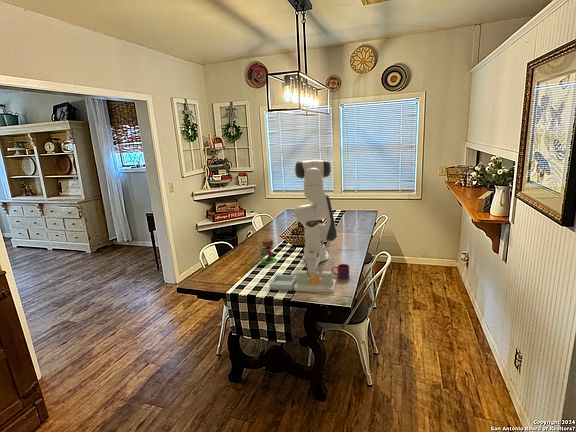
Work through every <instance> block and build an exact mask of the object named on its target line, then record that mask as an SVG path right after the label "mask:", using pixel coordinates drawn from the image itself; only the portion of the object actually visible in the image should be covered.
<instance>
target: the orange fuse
mask: <svg viewBox="0 0 576 432" xmlns="http://www.w3.org/2000/svg"><path fill="white" fill-rule="evenodd" d="M320 274H321V273H320V270H318V271H315V278H312V275H311V273H309V277H310V284H312V285H319V284H320V278H321V276H320Z"/></svg>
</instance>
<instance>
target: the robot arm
mask: <svg viewBox="0 0 576 432" xmlns="http://www.w3.org/2000/svg"><path fill="white" fill-rule="evenodd" d="M331 172H332V164H331V162H330V161H329V160H326V159H323V160H322V159H312V160H311V159H308V160H300V161H297V162H296V163H295V166H294V173H295V177H297V178H298V179H301V180H304V181H303V195H304V197H305V198H306V200H307V201H308V202H311V203H309V204H308V203H307V204H301V205H297V206H296V207H294V210H293V216H294V219H296V221H298V222H299V223H300V224H301V225H302V226H303V238H304V240H305V245H304V247H303V256H301V257H302V258H301V259H302V260H305V261H306V268H307V269H306V270H307V273H308V274H310V273H311V275H312V278H315V271H319V263H321V262H325V261H328V260H330V255H329V252H328V250H327V249H326V245H325V244H324V241H327V242H333V241H334V240H335V239H336V238H338V228H337V226H336V223H335V222H336V221H335V218H334V212H333V208H332V203H331V200H330V196H329V195H327V194H326V192H325V190H324V182H323V181H324V180H323V178H327V177H329V176H330V174H331ZM324 219H325V220H327V221H326V223H319V222H318V221H317V220H324Z"/></svg>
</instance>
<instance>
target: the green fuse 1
mask: <svg viewBox="0 0 576 432" xmlns="http://www.w3.org/2000/svg"><path fill="white" fill-rule="evenodd" d="M297 277H298V284H307V278H308V270H307V269H306V270H305V269H304V270H303V269H301V270H300V269H299V270H297Z"/></svg>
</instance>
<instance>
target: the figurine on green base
mask: <svg viewBox="0 0 576 432" xmlns="http://www.w3.org/2000/svg"><path fill="white" fill-rule="evenodd" d="M261 242H262V248H261V249H260V250H259V257H260V260H261V263H263V264H274V263H276V262H277V260H278V259H277V258H276V257H274V256H273V254H274V253H273V252H272V250H273V249H274V247H273V246H274V240H273V239H271V238H265V239H263V240H262V241H261ZM263 256H265V257H263ZM266 256H267V257H266ZM262 257H263V259H262Z"/></svg>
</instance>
